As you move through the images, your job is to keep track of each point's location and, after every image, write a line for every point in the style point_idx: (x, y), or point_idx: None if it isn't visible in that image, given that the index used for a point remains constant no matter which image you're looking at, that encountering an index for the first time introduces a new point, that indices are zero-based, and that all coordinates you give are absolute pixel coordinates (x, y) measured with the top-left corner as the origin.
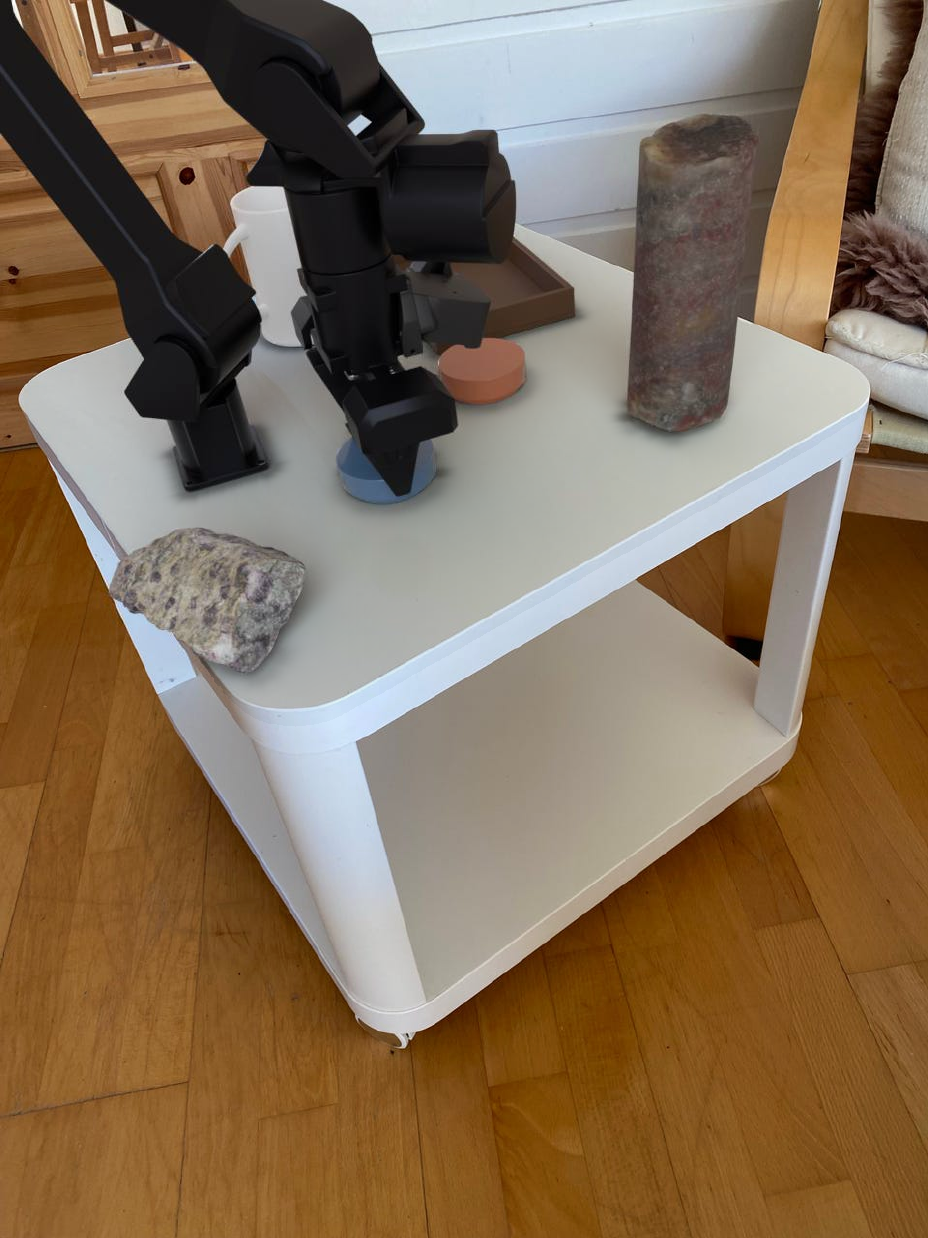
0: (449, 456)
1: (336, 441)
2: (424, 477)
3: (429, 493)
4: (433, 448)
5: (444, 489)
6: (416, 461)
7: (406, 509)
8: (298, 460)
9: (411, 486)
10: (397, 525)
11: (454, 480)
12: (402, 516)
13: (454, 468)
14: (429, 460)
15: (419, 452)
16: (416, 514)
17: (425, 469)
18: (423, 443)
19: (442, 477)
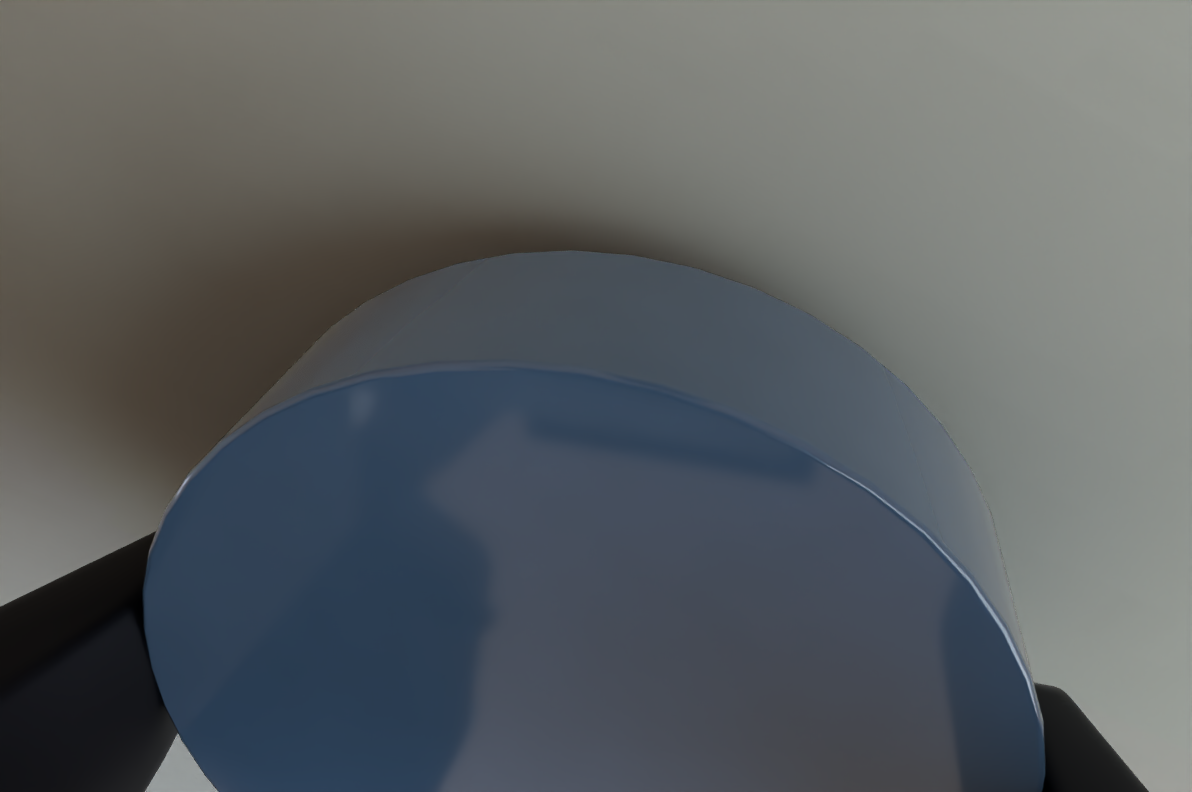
0: (574, 25)
1: (31, 583)
2: (999, 556)
3: (986, 434)
4: (756, 399)
5: (1037, 316)
6: (913, 668)
7: (1034, 633)
8: (162, 774)
9: (1101, 737)
10: (1151, 743)
11: (983, 177)
12: (1086, 683)
13: (798, 81)
14: (951, 539)
15: (776, 576)
16: (1152, 617)
17: (996, 579)
18: (637, 471)
19: (854, 245)
